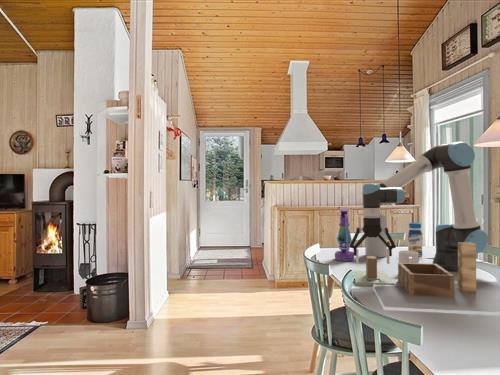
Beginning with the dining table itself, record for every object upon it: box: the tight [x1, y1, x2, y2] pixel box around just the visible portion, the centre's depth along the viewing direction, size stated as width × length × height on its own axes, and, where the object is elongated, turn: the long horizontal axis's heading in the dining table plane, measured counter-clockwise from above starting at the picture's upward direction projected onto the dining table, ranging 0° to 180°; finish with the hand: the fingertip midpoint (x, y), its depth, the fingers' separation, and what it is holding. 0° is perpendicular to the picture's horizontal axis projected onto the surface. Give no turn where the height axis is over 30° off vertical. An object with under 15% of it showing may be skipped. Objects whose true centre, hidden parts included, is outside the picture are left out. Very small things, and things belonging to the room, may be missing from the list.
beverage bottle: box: [407, 222, 423, 257], centre depth 232 cm, size 8×8×20 cm
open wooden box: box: [397, 262, 455, 298], centre depth 155 cm, size 22×16×9 cm
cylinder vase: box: [364, 214, 388, 259], centre depth 231 cm, size 12×12×25 cm
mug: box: [398, 250, 420, 263], centre depth 181 cm, size 12×9×11 cm
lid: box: [352, 255, 395, 287], centre depth 173 cm, size 22×16×10 cm
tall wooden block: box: [457, 242, 477, 293], centre depth 151 cm, size 5×5×20 cm
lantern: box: [334, 208, 355, 262], centre depth 220 cm, size 13×12×30 cm
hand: (372, 263), depth 173 cm, fingers open, 13 cm apart
